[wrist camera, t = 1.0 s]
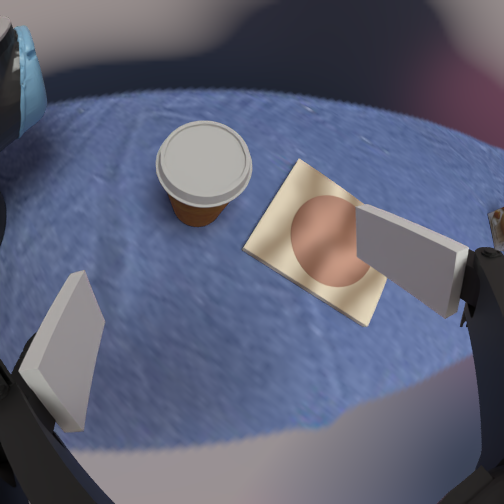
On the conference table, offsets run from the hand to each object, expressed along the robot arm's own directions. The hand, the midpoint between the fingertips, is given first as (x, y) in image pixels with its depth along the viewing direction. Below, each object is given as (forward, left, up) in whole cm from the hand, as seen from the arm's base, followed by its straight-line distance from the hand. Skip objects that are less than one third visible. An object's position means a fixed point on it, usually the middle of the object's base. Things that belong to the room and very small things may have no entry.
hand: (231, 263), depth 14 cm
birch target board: (+11, +17, -24) cm, 31 cm away
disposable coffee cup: (-7, +10, -24) cm, 27 cm away
